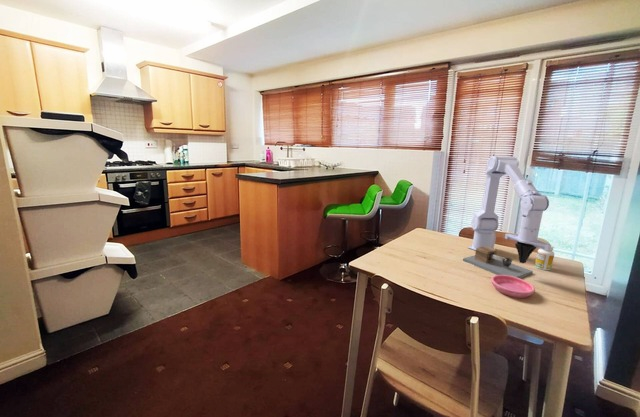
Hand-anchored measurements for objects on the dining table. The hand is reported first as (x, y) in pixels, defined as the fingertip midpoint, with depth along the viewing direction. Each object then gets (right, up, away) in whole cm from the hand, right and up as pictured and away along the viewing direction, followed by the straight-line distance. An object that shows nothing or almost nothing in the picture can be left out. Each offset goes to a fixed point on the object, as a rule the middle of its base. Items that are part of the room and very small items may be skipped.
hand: (522, 262), depth 108 cm
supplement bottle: (+15, -4, +9) cm, 18 cm away
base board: (-4, -3, +9) cm, 11 cm away
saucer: (-11, -8, -10) cm, 17 cm away
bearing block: (-7, -2, +13) cm, 15 cm away
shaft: (-5, -2, +9) cm, 11 cm away
